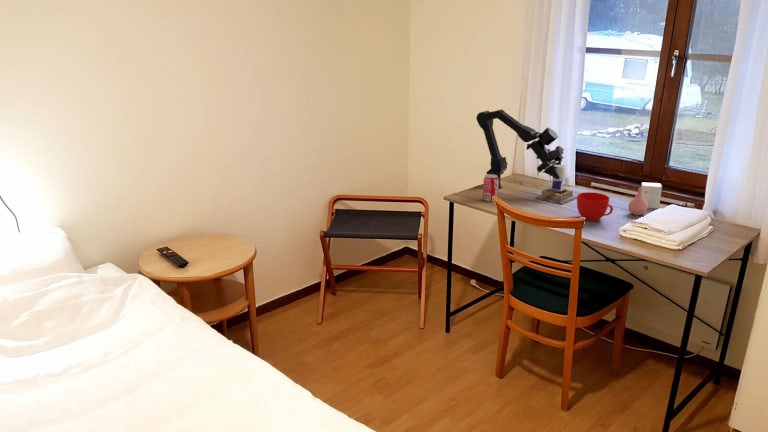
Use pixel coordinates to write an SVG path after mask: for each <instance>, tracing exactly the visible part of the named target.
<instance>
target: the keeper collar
mask: <svg viewBox="0 0 768 432" xmlns="http://www.w3.org/2000/svg"><path fill="white" fill-rule="evenodd" d="M551 188H552V186H551V187H549V188H546V189H542V191H541V194H540V195H538V196H536V197H535V199H538V200H541V201H545V202H550V203H553V204H557V205H561V206H563V205H565V204H568V203H570V202H572V201H574V200H577V195H574V194H573V193H574V190H571V189H569V188H568V189H567V188H564V187H563V191H562V192H555V191H552V190H551Z"/></svg>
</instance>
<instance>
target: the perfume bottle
mask: <svg viewBox="0 0 768 432" xmlns="http://www.w3.org/2000/svg"><path fill="white" fill-rule="evenodd" d="M637 191H638V192H637V194H636V195H635V197H633V198H632V199H631V200H629V203H628V206H627V209H628V211H629V213H630V214H633V215H634V216H640V215H644V214H646V212H647V210H648V208H647V202H646V201H645V200H644V198H643V196H642V188H641V187H638V189H637Z"/></svg>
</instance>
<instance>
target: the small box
mask: <svg viewBox="0 0 768 432" xmlns="http://www.w3.org/2000/svg"><path fill="white" fill-rule="evenodd" d="M640 188H642V196H643V198H644V200H645V201H646V202H647V209H655V210H656V209H657V208H660V202H661V197H662V189H663V185H662V184H661V183H658V182H643V181H642V182H641V186H640Z"/></svg>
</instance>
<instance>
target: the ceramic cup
mask: <svg viewBox="0 0 768 432" xmlns="http://www.w3.org/2000/svg"><path fill="white" fill-rule="evenodd" d="M576 196H577V199H576V208H577V212H578V214H579V215H580V216H581V217H585V218H586V220H585V221H588V222H598V221H599V220H600V219H602V218H603V217H606V216H609V215H611V214H612V213H613V210H614V207H613V205H611V204H609V203H610V196H609V195H606V194H604V193H599V192H594V191H593V192H592V191H590V192H589V191H585V192H580V193H578V194H577V195H576ZM608 208H609V212H608V213H606V212H607V211H608Z"/></svg>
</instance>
